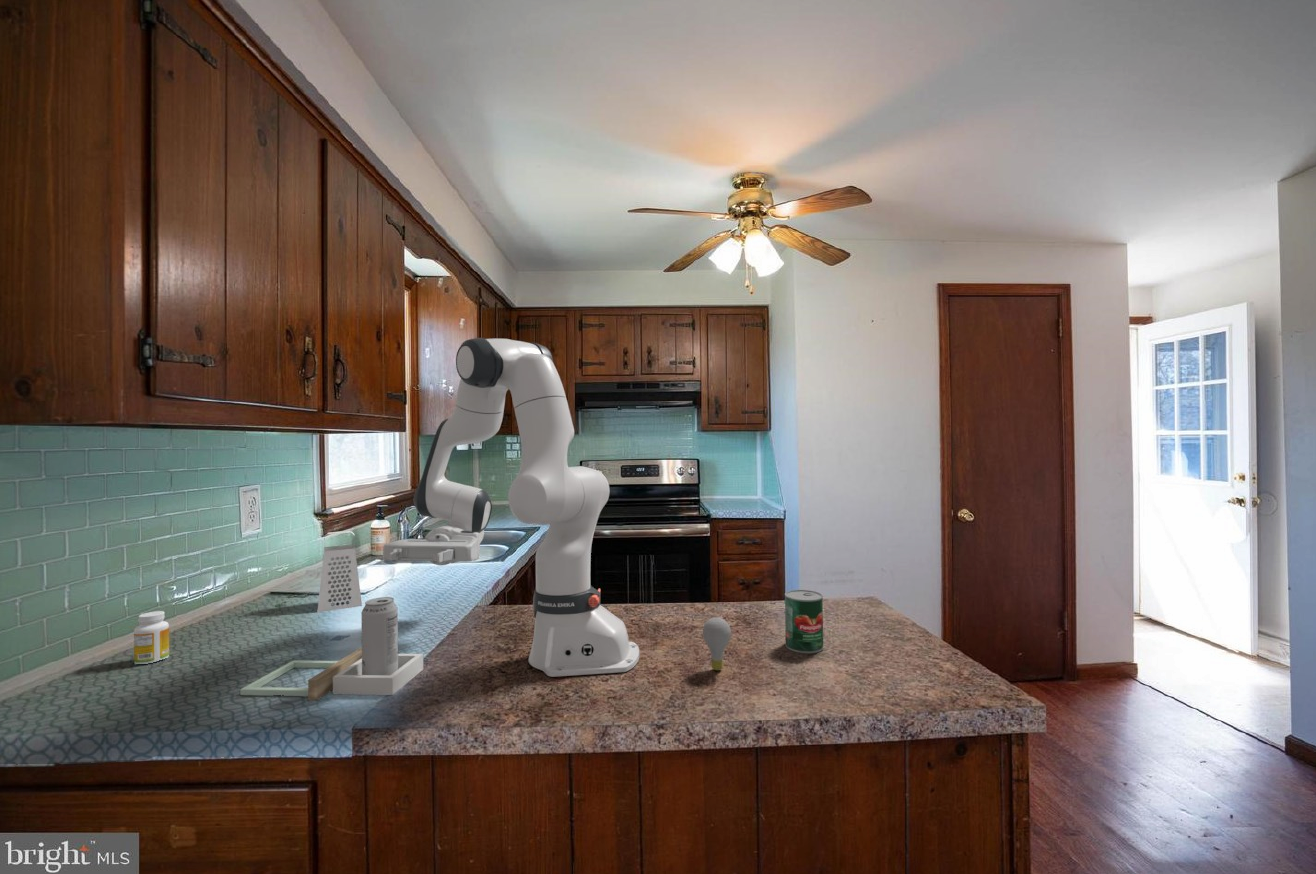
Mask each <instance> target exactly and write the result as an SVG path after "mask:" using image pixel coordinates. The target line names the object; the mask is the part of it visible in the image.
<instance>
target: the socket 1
mask: <svg viewBox="0 0 1316 874" xmlns="http://www.w3.org/2000/svg"><path fill="white" fill-rule="evenodd" d="M338 661H339V660H295V659H293V660H292V661H289V662H288V663H286V664H284V665H282V666H281V667H278V668H276V669H275V670H273V671H271V672H269V673H268V674H266V675H264V676H263V677H261V678H258V679H257V680H255V681H253V682H251V683H249V684H247V685H246V686H244V687H242V688H241V689H240V690H239V691H240V696H266V697H267V696H273V695H281V696H282V695H284V696H282V697H308V687H277V686H276V687H273V686H272V687H271V686H270V687H269V686H264V685H266V684H268V683H271V682H272V681H274V680H275V679H277V678H278V677H280V676H282V675H284V674H285V673H288V672H289V671H291V670H293V669H294V668H297V669H299V668H304V669H306V668H307V669H327V668H329V667H330V666H332V665H333V664H335V663H337V662H338ZM262 686H263V687H262ZM281 696H280V697H281ZM273 697H274V696H273Z"/></svg>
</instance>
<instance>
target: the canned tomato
mask: <svg viewBox="0 0 1316 874" xmlns="http://www.w3.org/2000/svg"><path fill="white" fill-rule="evenodd" d="M823 597H824V596H823V594H822V593H820V592H817V591H814V590H811V589H810V590H809V589H792V590H789V591H788V590H787V591H786V592H785V593H784V618H785V620H784V621H785V623H784V626H785V627H784V628H785V631H784V633H785V647H786V648H787V649H788V650H790V651H792V652H795V653H800V654H816V653H819V652H821V651H823V650H824V648H825V647H824V601H823Z"/></svg>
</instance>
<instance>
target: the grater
mask: <svg viewBox="0 0 1316 874" xmlns="http://www.w3.org/2000/svg"><path fill="white" fill-rule="evenodd" d="M348 533H349V534H352V535H353V539H354V542H353V544H344V545H333V546H323V556H322V564H321V565H322V566H321V572H320V573H321V575H320V576H321V577H320V583H319V591H318V592H319V593H318V603H317V611H316V612H317V613H322V612H324V613H325V612H330V611H338V610H345V609H350V608H351V609H352V608H358V607H362V606H363V604H362V603H363V602H362V594H361V587H360V579H359V571H358V563H357V562H358V561H357V555H356V547H355V546H356V544H355V541H356V540H355V539H356V538H355V536H356V535H355V533H354V532H353V531H352V530H343V531H341V530H340V531H333V532H332V531H331V532H330V531H329V532H327V533H326V534H324V537H323V539H325V537H327V536H328V535H335V534H338V535H339V534H348ZM347 602H348V603H347ZM337 603H339V604H338V605H337ZM342 603H343V604H342ZM332 604H333V606H332Z"/></svg>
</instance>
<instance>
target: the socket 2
mask: <svg viewBox="0 0 1316 874" xmlns="http://www.w3.org/2000/svg"><path fill="white" fill-rule="evenodd" d="M422 671H424V653H398V670H397V671H395V672H394V673H393V674H392V675H362V658H361V659H360V660H358V661H357V662H355V663H354V664H352V665H351V666H349V667H347V668H346V669H344V670H343V671H341V672H340V673H338V674H337V675H335V676H334V677H333V690H332V694H333V695H363V696H364V695H365V696H366V695H373V696H374V695H376V696H378V695H379V696H394V694H396V693H398V691H400V690H401V689H402V688H403V687H404V686H405V685H406V684H408V683H409V682H410V681H411V680H412V679H414V678H415V677H416V676H418V675H419V673H421V672H422Z"/></svg>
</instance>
